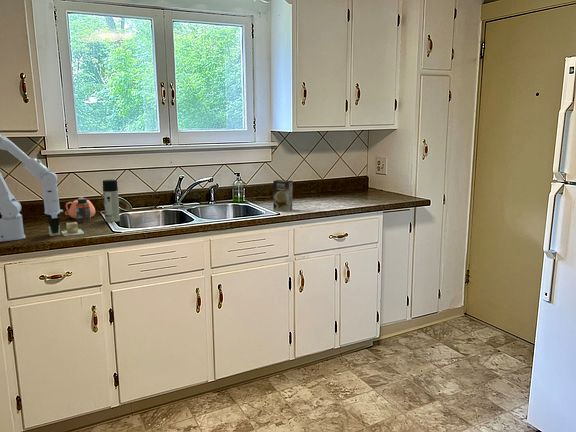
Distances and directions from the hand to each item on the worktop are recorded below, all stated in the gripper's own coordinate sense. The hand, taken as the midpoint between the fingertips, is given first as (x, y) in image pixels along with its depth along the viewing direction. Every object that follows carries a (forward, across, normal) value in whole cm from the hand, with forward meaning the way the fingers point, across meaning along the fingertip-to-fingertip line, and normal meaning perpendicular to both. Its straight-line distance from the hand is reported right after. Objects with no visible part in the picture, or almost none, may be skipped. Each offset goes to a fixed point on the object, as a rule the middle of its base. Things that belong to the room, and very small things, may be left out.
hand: (54, 232), depth 204 cm
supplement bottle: (+2, +23, -15) cm, 28 cm away
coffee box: (+2, -1, -112) cm, 112 cm away
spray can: (+2, +17, -27) cm, 32 cm away
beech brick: (+1, 0, -7) cm, 7 cm away
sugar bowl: (+2, +34, -15) cm, 37 cm away
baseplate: (+2, 0, -7) cm, 7 cm away
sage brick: (+1, 0, 0) cm, 1 cm away
